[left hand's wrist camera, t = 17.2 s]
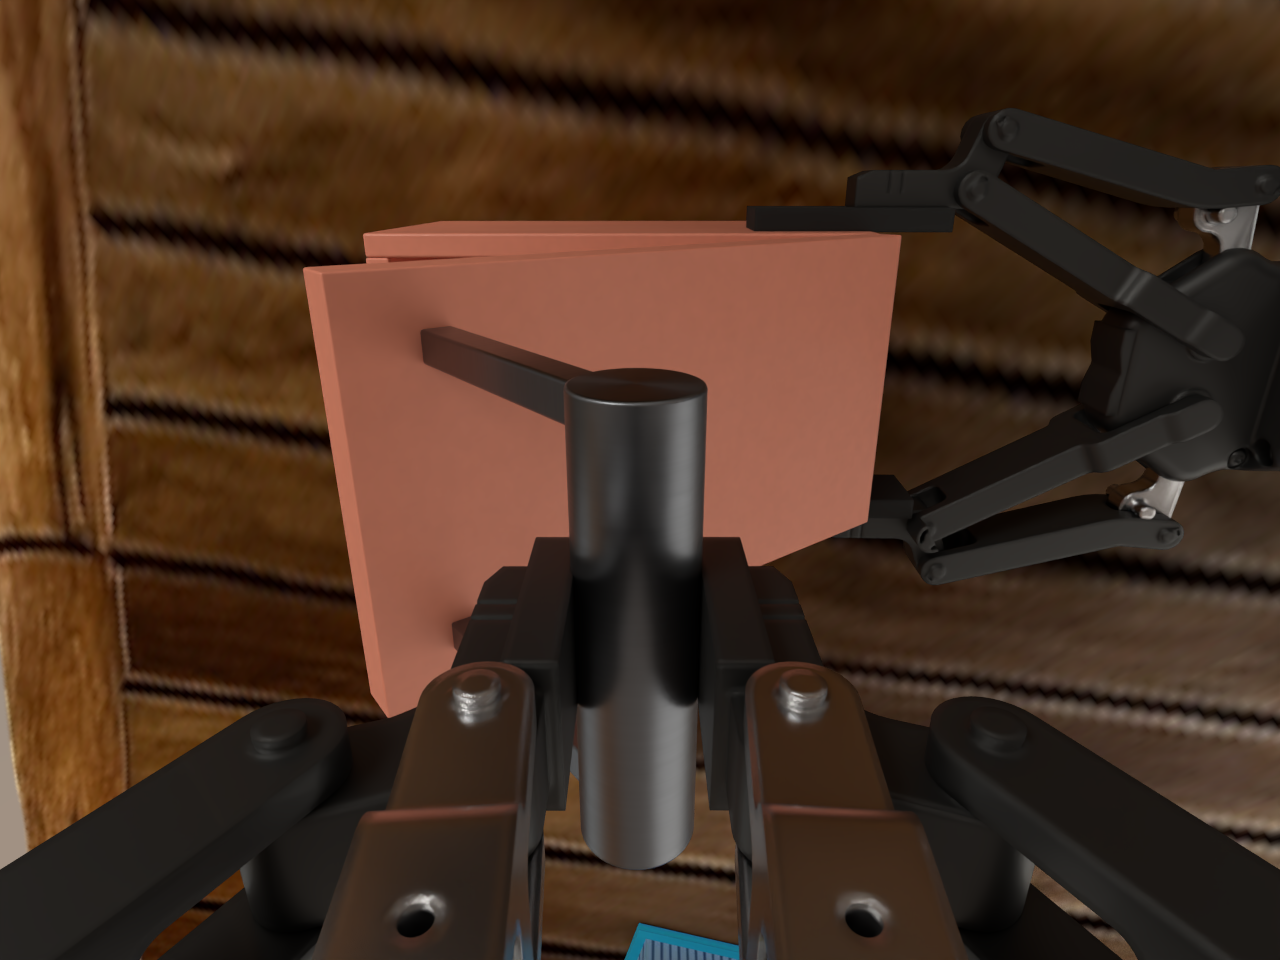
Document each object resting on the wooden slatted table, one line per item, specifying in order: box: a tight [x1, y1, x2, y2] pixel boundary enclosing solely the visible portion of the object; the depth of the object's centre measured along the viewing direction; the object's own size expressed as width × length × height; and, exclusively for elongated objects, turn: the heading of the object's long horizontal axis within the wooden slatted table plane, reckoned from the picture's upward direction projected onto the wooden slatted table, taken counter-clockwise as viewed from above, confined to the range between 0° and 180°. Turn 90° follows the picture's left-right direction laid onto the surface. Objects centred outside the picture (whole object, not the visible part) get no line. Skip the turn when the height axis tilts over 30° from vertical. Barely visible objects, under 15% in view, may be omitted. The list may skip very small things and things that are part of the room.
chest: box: [363, 221, 879, 264], centre depth 30 cm, size 17×10×9 cm, turn 90°
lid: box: [303, 234, 901, 870], centre depth 17 cm, size 17×10×9 cm
